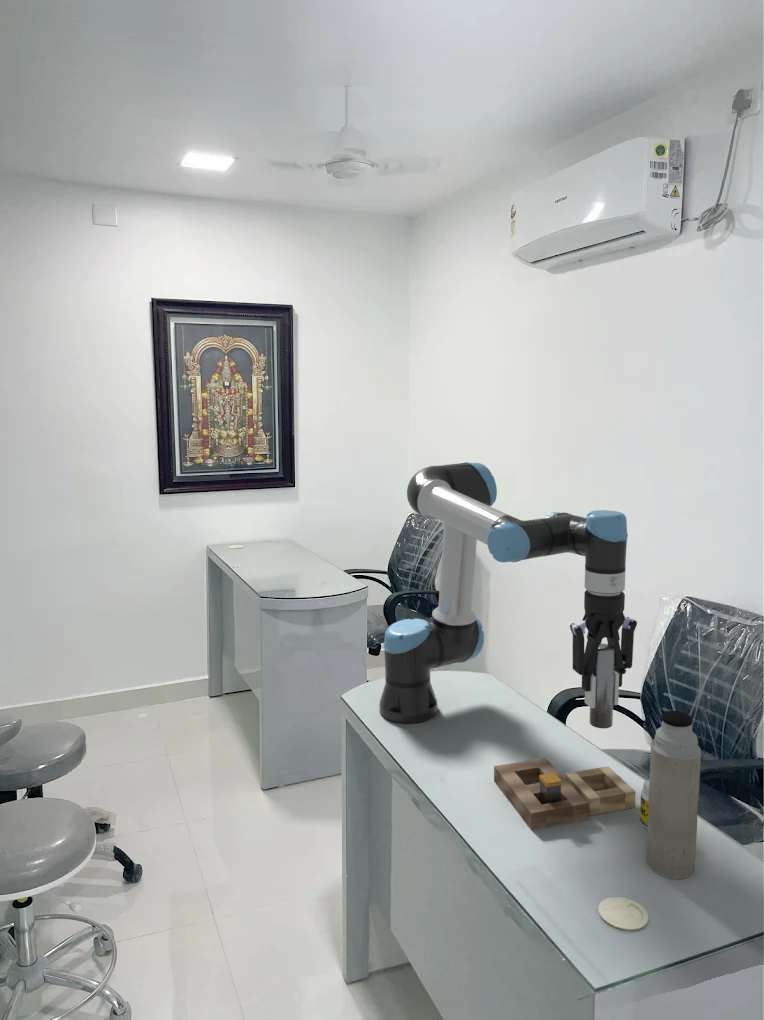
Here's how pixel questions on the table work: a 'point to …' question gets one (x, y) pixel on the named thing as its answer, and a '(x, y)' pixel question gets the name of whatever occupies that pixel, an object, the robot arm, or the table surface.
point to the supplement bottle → (644, 804)
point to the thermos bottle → (673, 797)
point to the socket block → (538, 794)
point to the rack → (606, 800)
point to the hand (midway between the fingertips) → (601, 703)
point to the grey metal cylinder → (603, 687)
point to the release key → (550, 788)
